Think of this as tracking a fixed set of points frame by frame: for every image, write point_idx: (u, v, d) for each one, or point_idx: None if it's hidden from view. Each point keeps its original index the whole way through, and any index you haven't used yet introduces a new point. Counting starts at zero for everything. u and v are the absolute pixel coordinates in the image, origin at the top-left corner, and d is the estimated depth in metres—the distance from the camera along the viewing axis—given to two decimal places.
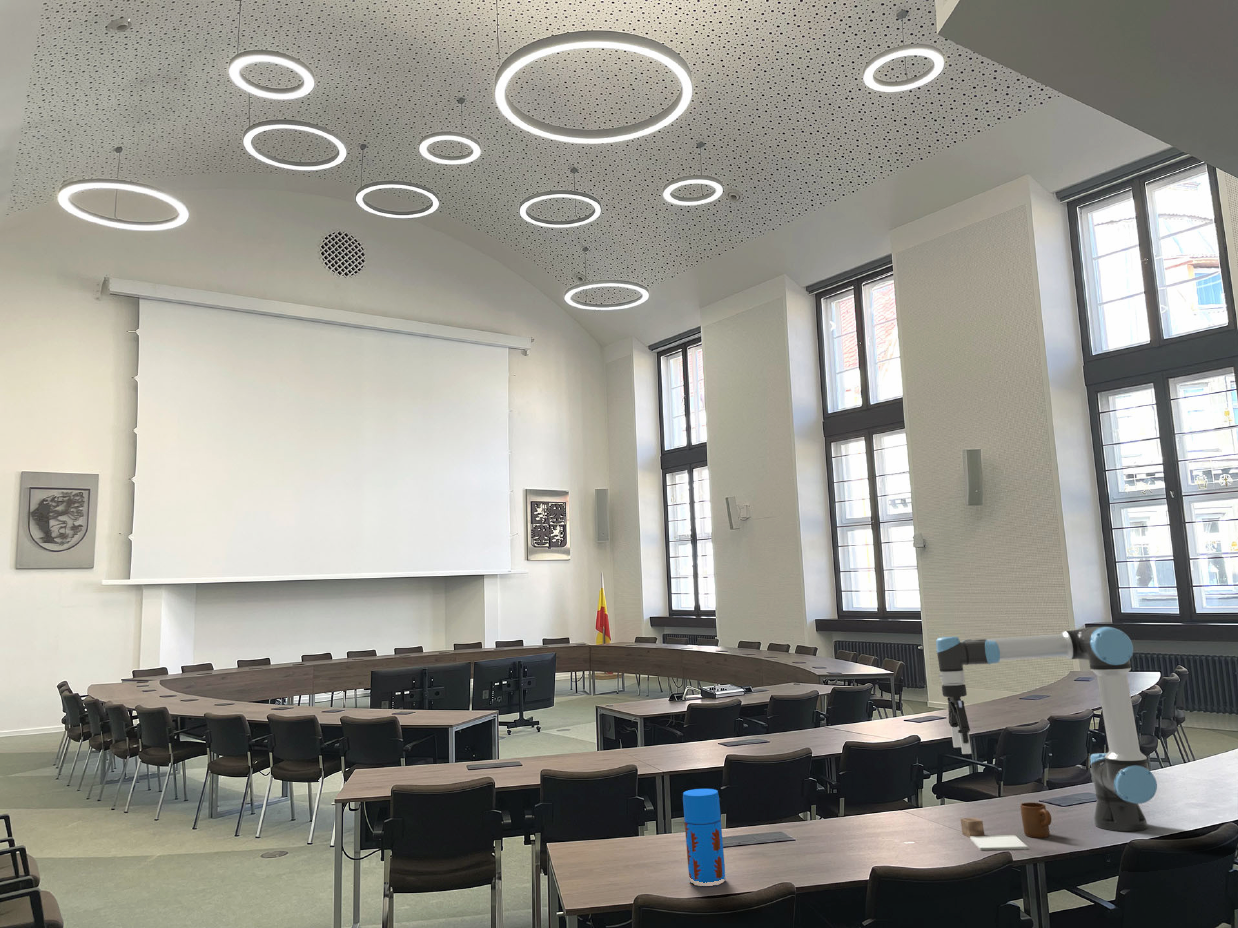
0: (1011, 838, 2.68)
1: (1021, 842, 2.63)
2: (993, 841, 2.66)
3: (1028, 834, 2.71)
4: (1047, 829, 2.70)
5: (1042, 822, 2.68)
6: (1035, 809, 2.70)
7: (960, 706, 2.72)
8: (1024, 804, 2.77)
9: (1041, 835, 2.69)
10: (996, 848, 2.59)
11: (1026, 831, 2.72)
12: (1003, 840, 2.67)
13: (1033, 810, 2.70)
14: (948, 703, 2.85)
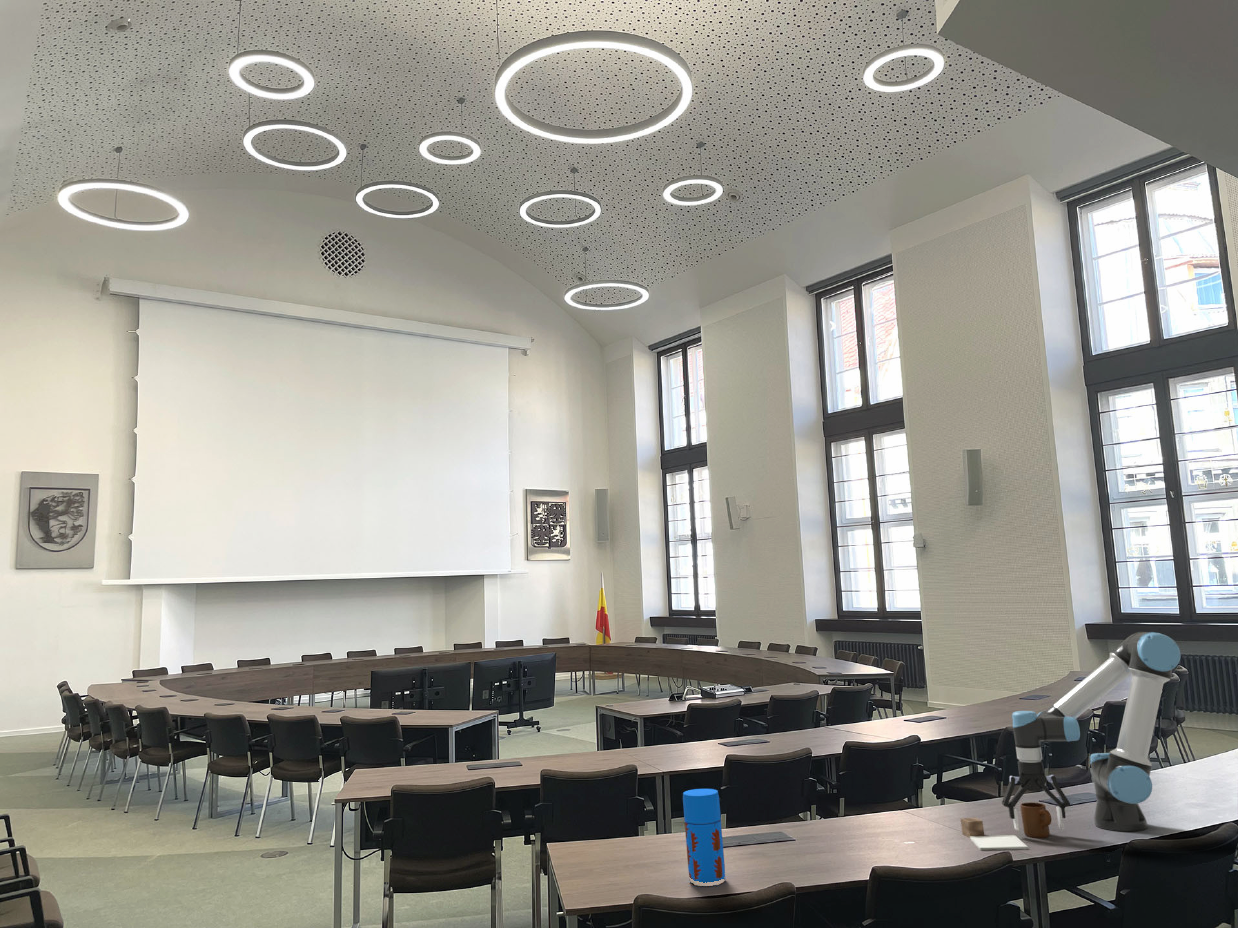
0: (1011, 838, 2.68)
1: (1021, 842, 2.63)
2: (993, 841, 2.66)
3: (1028, 834, 2.71)
4: (1047, 829, 2.70)
5: (1042, 822, 2.68)
6: (1035, 809, 2.70)
7: (1010, 781, 2.74)
8: (1024, 804, 2.77)
9: (1041, 835, 2.69)
10: (996, 848, 2.59)
11: (1026, 831, 2.72)
12: (1003, 840, 2.67)
13: (1033, 810, 2.70)
14: None
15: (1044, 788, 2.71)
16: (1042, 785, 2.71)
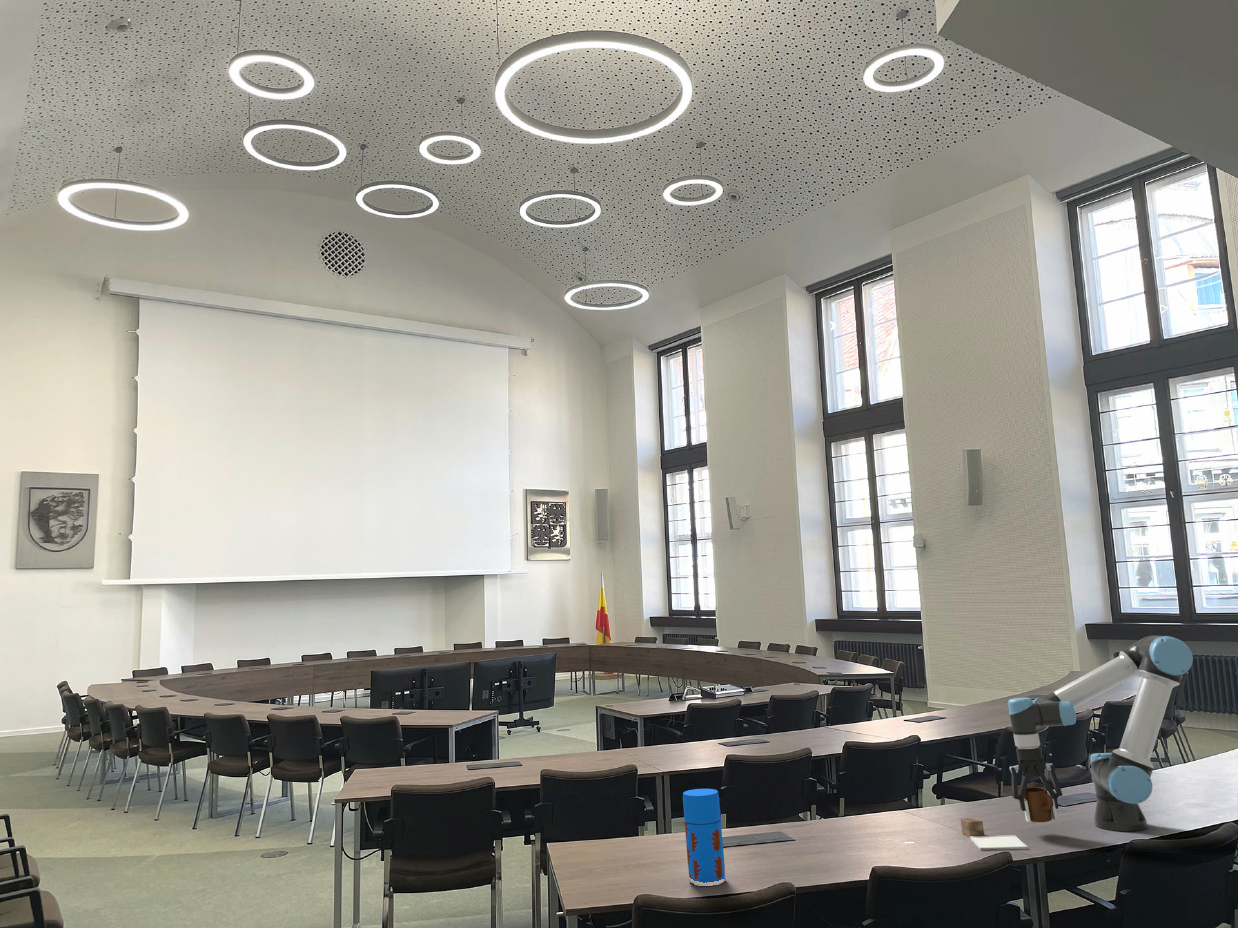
0: (1011, 838, 2.68)
1: (1021, 842, 2.63)
2: (993, 841, 2.66)
3: (1030, 819, 2.72)
4: (1049, 813, 2.70)
5: (1044, 807, 2.69)
6: (1037, 793, 2.71)
7: (1012, 772, 2.75)
8: (1026, 789, 2.77)
9: (1043, 819, 2.69)
10: (996, 848, 2.59)
11: None
12: (1003, 840, 2.67)
13: (1035, 794, 2.71)
14: None
15: (1041, 775, 2.72)
16: (1040, 772, 2.72)
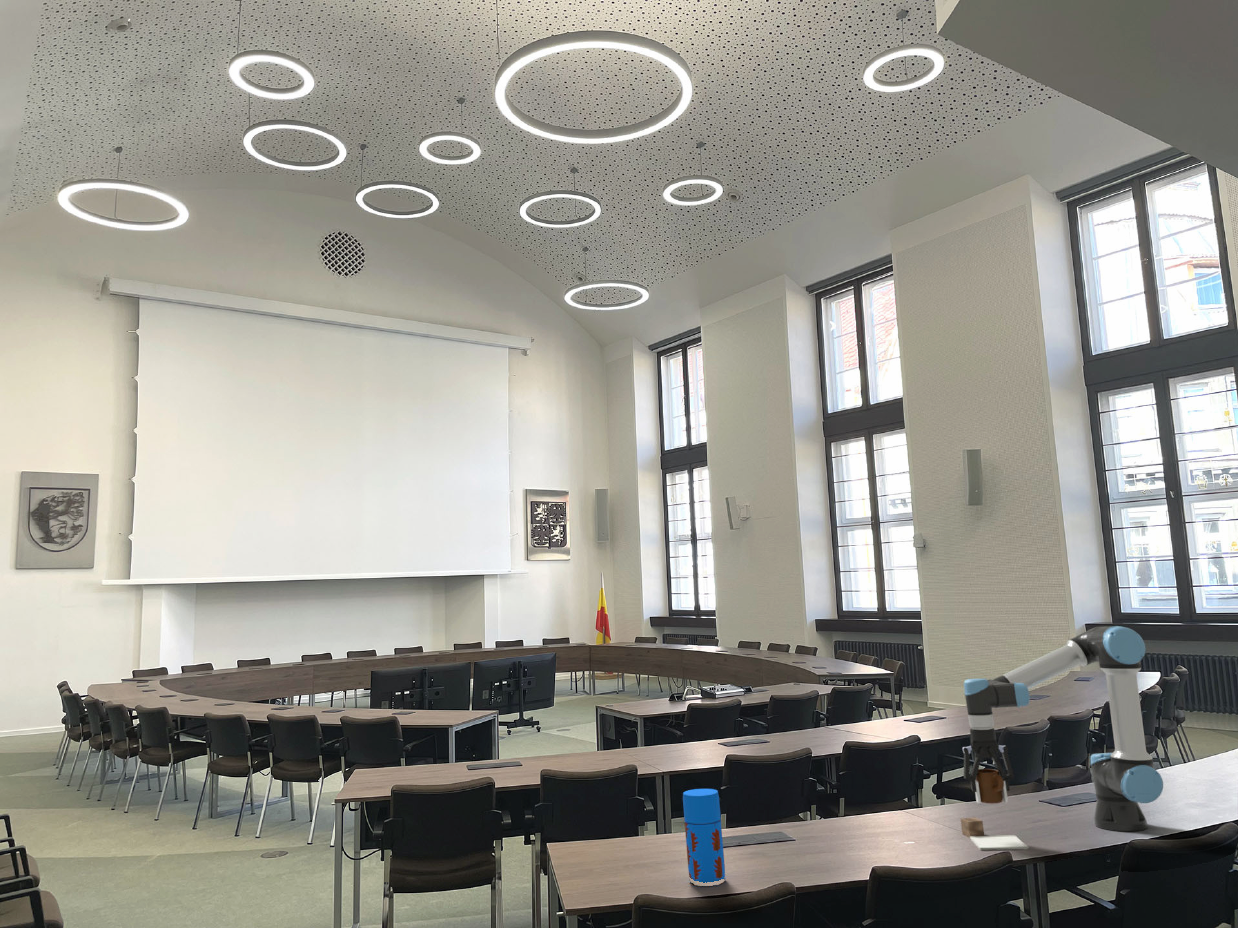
0: (1011, 838, 2.68)
1: (1021, 842, 2.63)
2: (993, 841, 2.66)
3: (981, 800, 2.69)
4: (1000, 795, 2.67)
5: (995, 788, 2.66)
6: (988, 774, 2.68)
7: (964, 753, 2.72)
8: (978, 770, 2.75)
9: (994, 801, 2.67)
10: (996, 848, 2.59)
11: None
12: (1003, 840, 2.67)
13: (986, 775, 2.68)
14: None
15: (994, 757, 2.69)
16: (993, 753, 2.69)
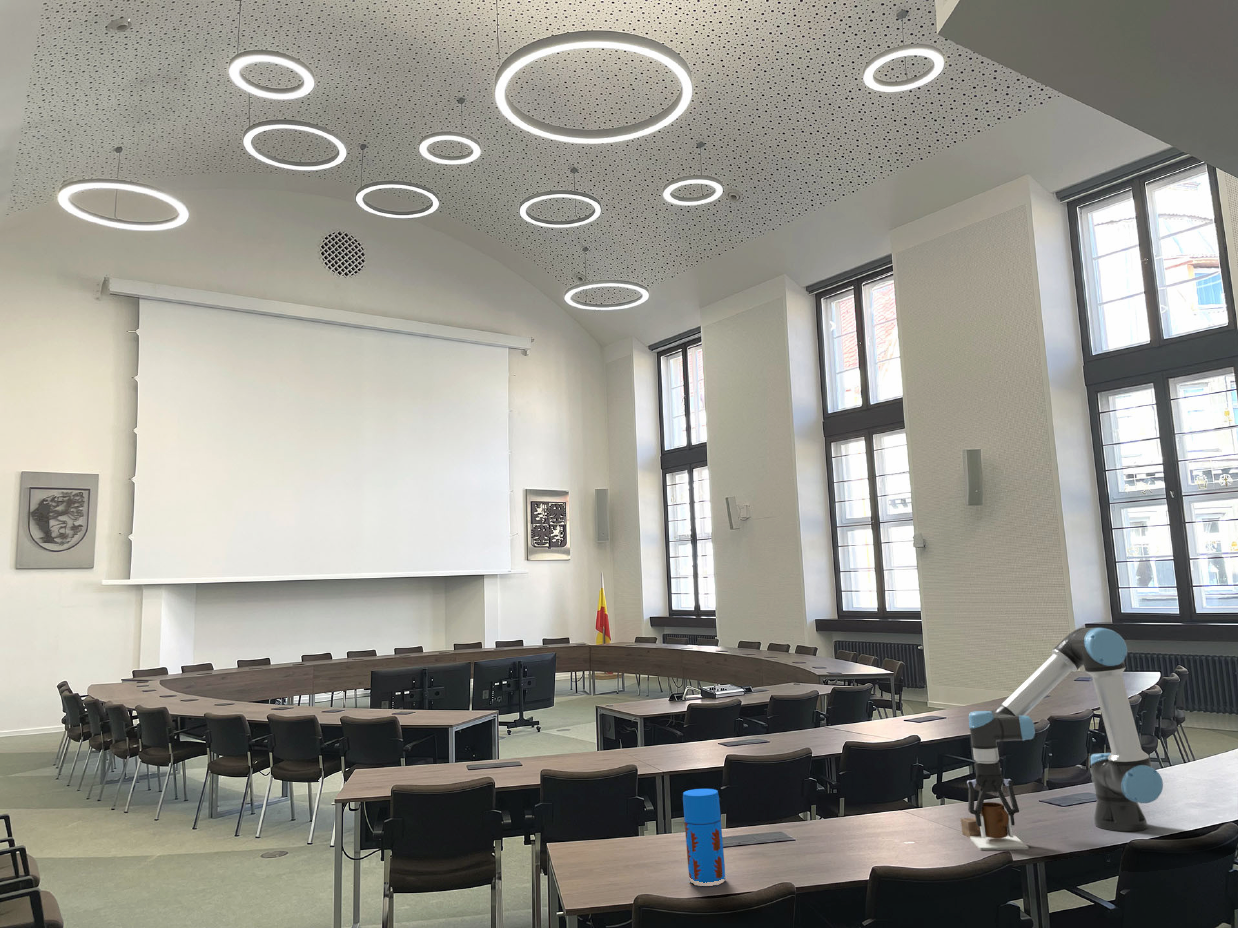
0: (1011, 838, 2.68)
1: (1021, 842, 2.63)
2: (993, 841, 2.66)
3: (986, 834, 2.67)
4: (1005, 829, 2.65)
5: (1000, 823, 2.64)
6: (993, 809, 2.66)
7: (969, 786, 2.70)
8: (983, 804, 2.73)
9: (999, 835, 2.65)
10: (996, 848, 2.59)
11: None
12: (1003, 840, 2.67)
13: (991, 809, 2.66)
14: None
15: (999, 791, 2.67)
16: (998, 787, 2.67)
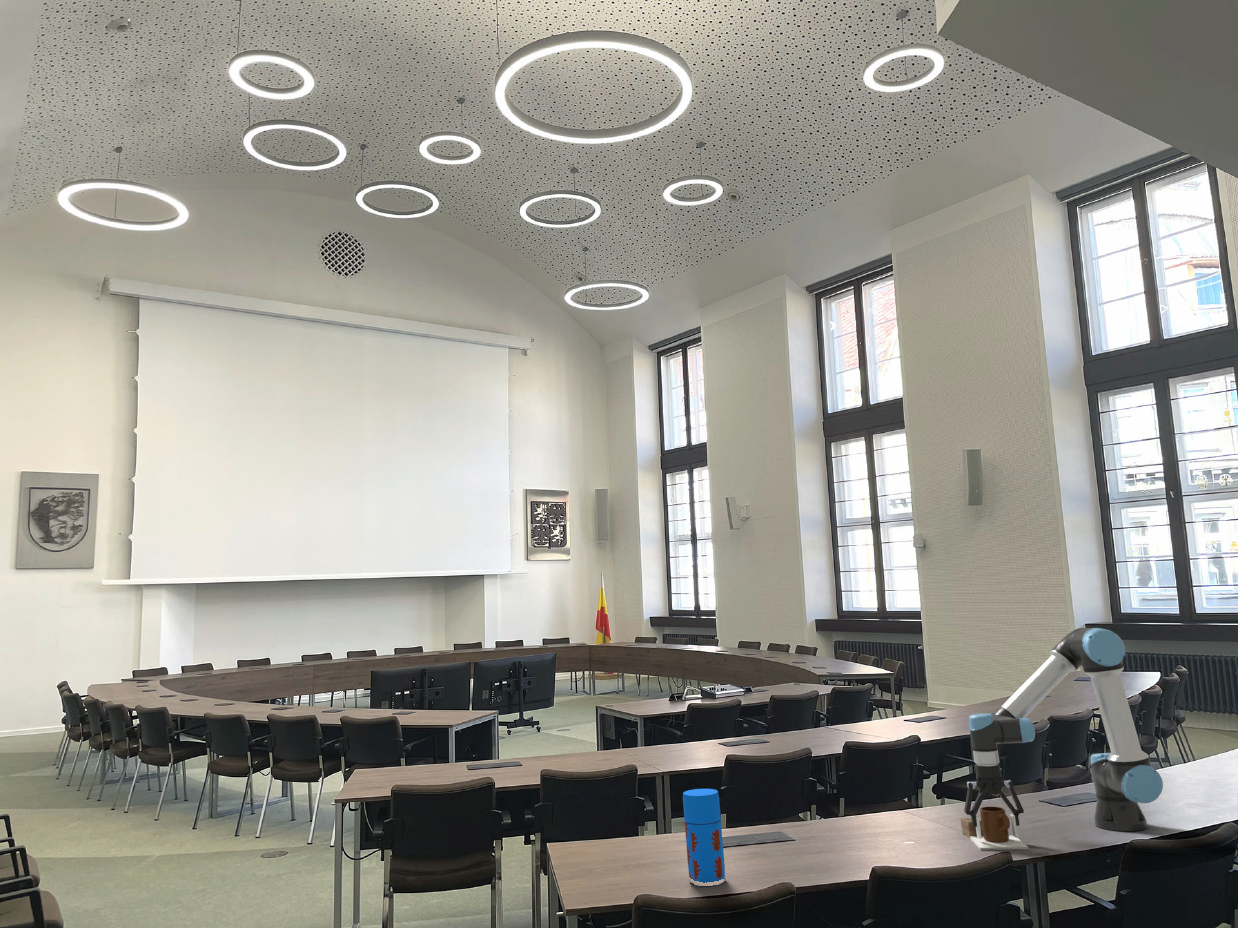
0: (1011, 838, 2.68)
1: (1021, 842, 2.63)
2: None
3: (987, 839, 2.67)
4: (1006, 834, 2.65)
5: (1001, 827, 2.64)
6: (994, 813, 2.66)
7: (968, 788, 2.70)
8: (984, 808, 2.72)
9: (1000, 840, 2.64)
10: (996, 848, 2.59)
11: (985, 836, 2.67)
12: None
13: (992, 814, 2.66)
14: None
15: (1000, 793, 2.66)
16: (999, 789, 2.67)
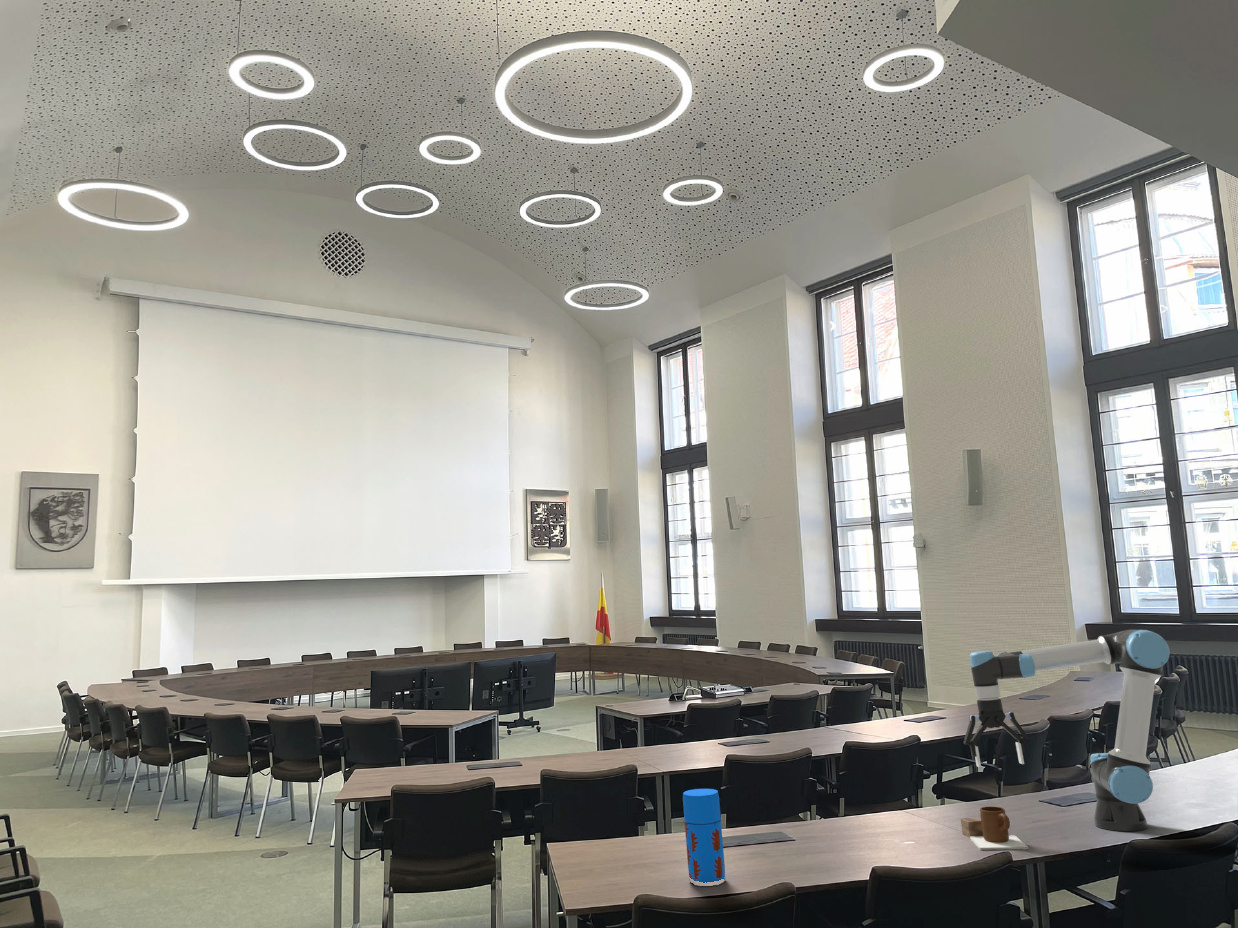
0: (1011, 838, 2.68)
1: (1021, 842, 2.63)
2: None
3: (987, 839, 2.67)
4: (1006, 834, 2.65)
5: (1001, 827, 2.64)
6: (994, 813, 2.66)
7: (970, 720, 2.80)
8: (984, 808, 2.72)
9: (1000, 840, 2.64)
10: (996, 848, 2.59)
11: (985, 836, 2.67)
12: None
13: (992, 814, 2.66)
14: None
15: (1003, 724, 2.77)
16: (1001, 722, 2.77)
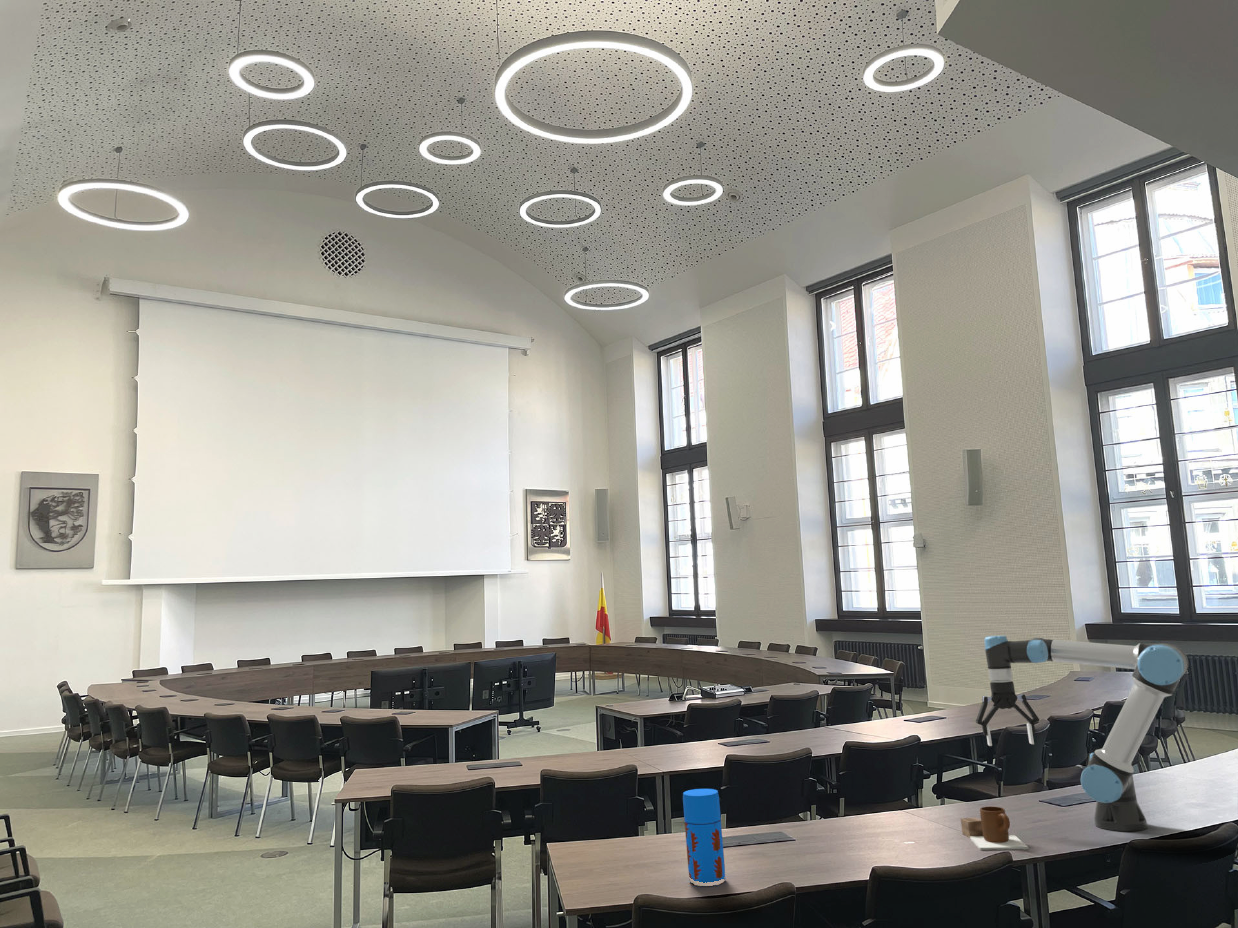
0: (1011, 838, 2.68)
1: (1021, 842, 2.63)
2: None
3: (987, 839, 2.67)
4: (1006, 834, 2.65)
5: (1001, 827, 2.64)
6: (994, 813, 2.66)
7: (983, 701, 2.92)
8: (984, 808, 2.72)
9: (1000, 840, 2.64)
10: (996, 848, 2.59)
11: (985, 836, 2.67)
12: None
13: (992, 814, 2.66)
14: None
15: (1015, 706, 2.88)
16: (1013, 703, 2.89)
